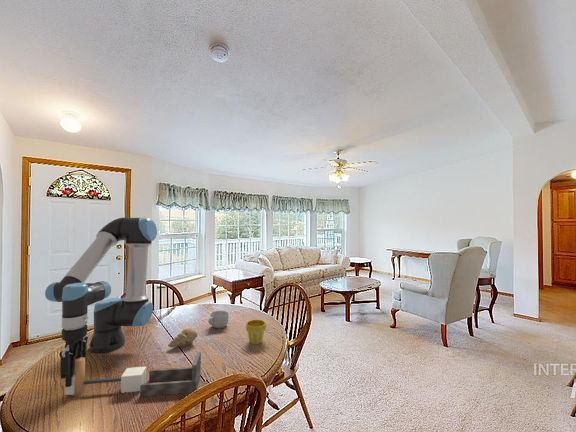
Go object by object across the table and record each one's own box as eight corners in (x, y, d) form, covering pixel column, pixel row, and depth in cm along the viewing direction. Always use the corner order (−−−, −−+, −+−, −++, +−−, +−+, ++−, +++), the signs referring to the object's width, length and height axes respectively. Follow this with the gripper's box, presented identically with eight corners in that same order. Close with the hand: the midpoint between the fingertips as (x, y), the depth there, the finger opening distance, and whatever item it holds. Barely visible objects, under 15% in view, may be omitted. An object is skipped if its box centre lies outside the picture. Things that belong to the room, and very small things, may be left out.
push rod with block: (67, 398, 100) (67, 364, 100) (76, 388, 106) (76, 356, 106) (141, 390, 104) (141, 358, 105) (146, 381, 110) (146, 351, 110)
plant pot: (260, 347, 141) (260, 327, 141) (242, 344, 144) (242, 325, 144) (268, 339, 151) (269, 320, 151) (251, 336, 154) (251, 318, 154)
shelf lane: (140, 396, 101) (140, 368, 101) (150, 379, 112) (150, 354, 112) (195, 392, 104) (196, 365, 104) (200, 376, 114) (200, 351, 115)
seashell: (173, 354, 133) (173, 337, 133) (164, 348, 138) (165, 332, 138) (198, 344, 144) (198, 328, 144) (189, 339, 149) (190, 324, 149)
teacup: (221, 321, 175) (221, 309, 175) (232, 326, 168) (232, 312, 168) (201, 328, 164) (202, 314, 164) (212, 333, 157) (213, 319, 157)
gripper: (72, 335, 95) (70, 404, 95) (97, 317, 112) (97, 376, 112) (47, 336, 94) (46, 406, 94) (77, 318, 111) (76, 377, 111)
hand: (73, 390), depth 103 cm, fingers closed on push rod with block, 4 cm apart
